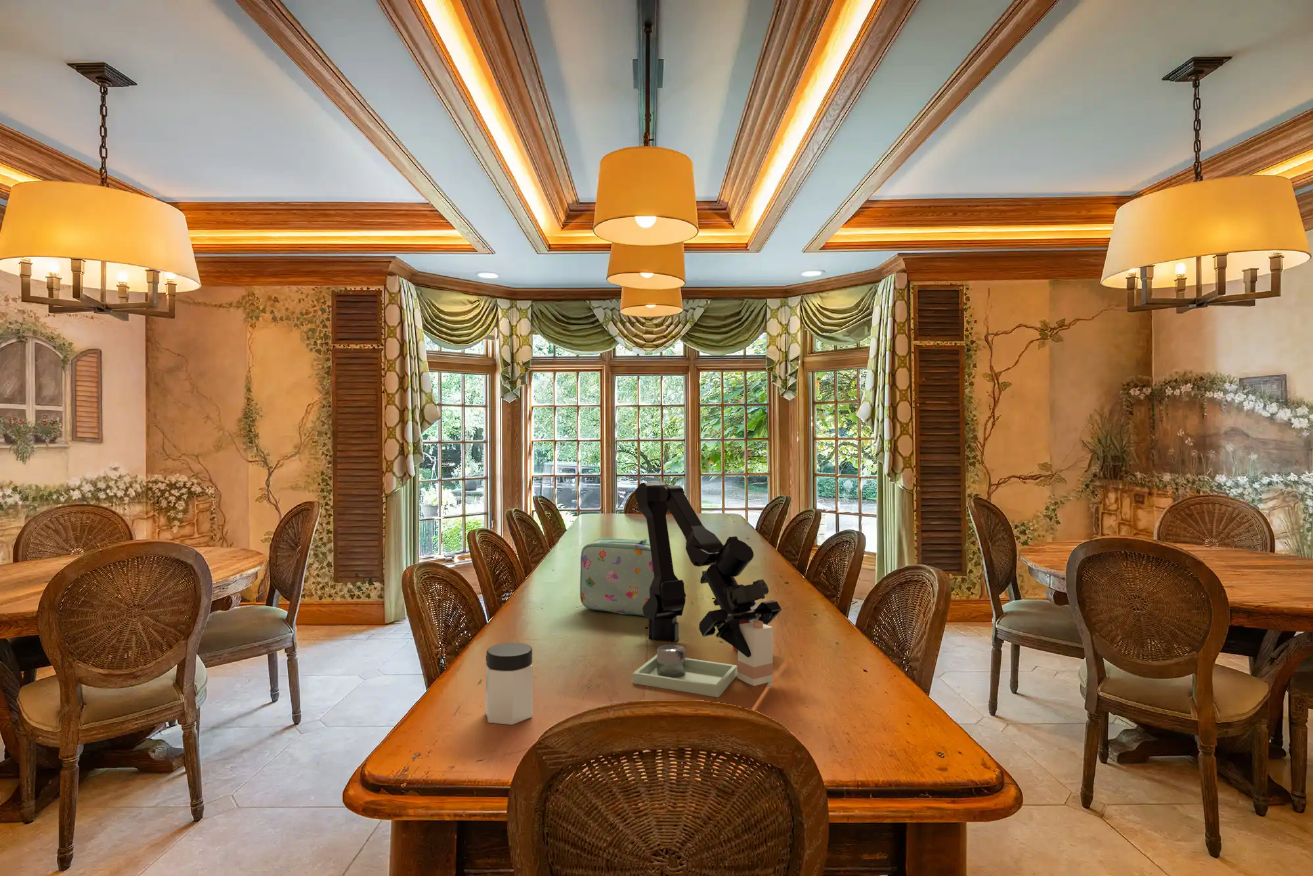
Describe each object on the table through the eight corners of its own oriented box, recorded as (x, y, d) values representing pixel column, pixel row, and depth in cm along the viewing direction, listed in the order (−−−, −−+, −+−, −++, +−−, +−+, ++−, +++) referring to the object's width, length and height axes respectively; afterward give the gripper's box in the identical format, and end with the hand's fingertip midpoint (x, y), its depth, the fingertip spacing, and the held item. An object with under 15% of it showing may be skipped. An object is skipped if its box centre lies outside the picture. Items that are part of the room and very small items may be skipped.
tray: (632, 688, 137) (632, 673, 137) (657, 667, 149) (657, 653, 149) (718, 702, 130) (718, 686, 130) (737, 679, 142) (737, 665, 142)
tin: (652, 675, 141) (652, 651, 141) (663, 666, 147) (663, 643, 147) (679, 679, 139) (679, 655, 139) (689, 670, 144) (689, 647, 144)
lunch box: (676, 611, 196) (677, 537, 196) (665, 620, 186) (665, 542, 186) (591, 602, 205) (592, 531, 205) (576, 611, 195) (577, 536, 195)
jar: (514, 702, 129) (515, 638, 129) (542, 713, 124) (543, 648, 124) (474, 716, 122) (474, 650, 122) (502, 729, 117) (503, 660, 117)
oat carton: (737, 683, 140) (737, 619, 140) (755, 678, 143) (756, 616, 143) (753, 690, 136) (754, 625, 136) (772, 685, 139) (773, 622, 139)
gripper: (708, 572, 137) (743, 640, 128) (776, 563, 148) (813, 626, 139) (684, 602, 144) (716, 670, 135) (751, 591, 154) (785, 654, 145)
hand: (759, 654), depth 138 cm, fingers closed on oat carton, 5 cm apart
